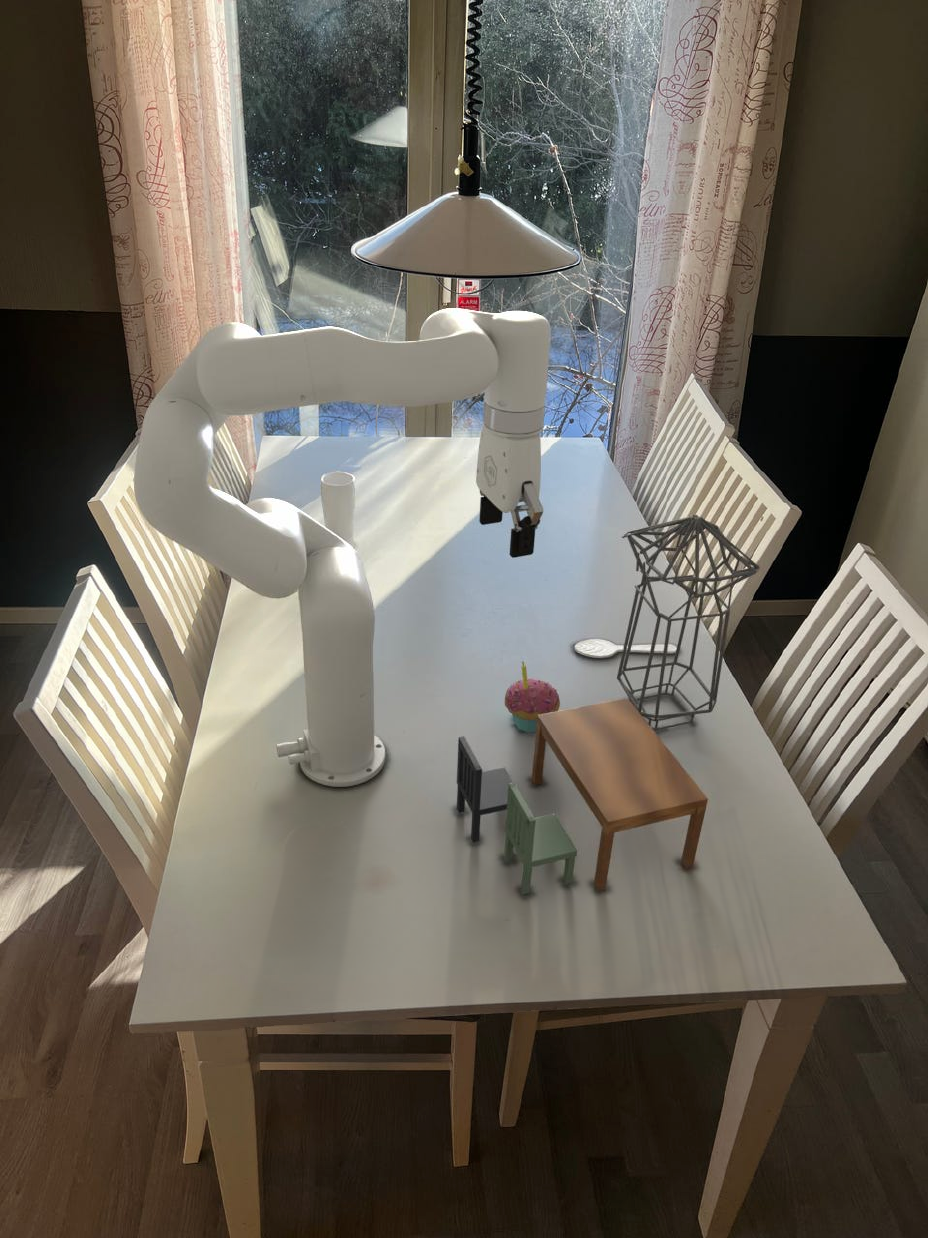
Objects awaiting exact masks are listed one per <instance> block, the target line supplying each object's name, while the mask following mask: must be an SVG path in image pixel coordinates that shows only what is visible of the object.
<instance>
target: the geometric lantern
mask: <svg viewBox="0 0 928 1238" xmlns="http://www.w3.org/2000/svg"><path fill="white" fill-rule="evenodd" d="M671 526H672V527H671ZM667 527H671V528H669V529H667V530H665V531H654V530H657V529H662V528H667ZM705 530H706V531H707V532H708V533H709V534H710V535H711V536H712V537H713V538H714V539H716V540H717V541H718V545H719V549H720V553H721V557H722V561H721V562H719V563H718V564H717V565H716V563H715V560H714V557H713V554H712V551H711V549H710V545H709V542H708V539H707V537H706V534H705ZM633 536H634V537H633ZM646 536H660V537H658V538H657V539H656V540H655V541H653V540H651V539H649V538H647V537H646ZM635 537H636V538H638V539H640V540H642V541H643V542H645V543H647V544H648V545H647V546H645V547H643V545H641V544H640V543H639V542H638V541H637V540H636V539H635ZM700 537H701V539H702V544H703V546H704V548H705V552H706V554H707V558H708V560H709V563H710V567H711V569H712V570H710V572H709V573H708V574H707V575H705V576H704V577H700ZM621 538H622V539H625V538H627V540H628V542H629V546H630V548H631V550H632V552H633V555H634V557H635V559H636V566H635V571H636V572H640V573H641V574H642V576H641V580H640V581H641V582H640V583H638V584H635V585H634V588H635V593H634V598H633V602H632V606H631V611H630V615H629V620H628V625H627V629H626V634H625V638H624V643H623V645H624V648H623V652H621V657H620V661H619V665H618V671H617V675H616V680H617V681H618V682H619V684H620V686H621V687H622V689H623V691H624V692H625V694H626V696H627V698H628V699H629V701H630V702H631V703H632V704H633V706H634V707H635V708H636V709H637V711H638V712H639V713H640V714H641V716H642V717H643V718H644V719H647V720H648V722H647V723H648V724H649V726H650V727H651V728H652V729H653V731H659V730H664V729H669V728H674V727H679V726H683V725H689V724H692V723H694V718H695V715H700V714H701V715H702V714H708V713H712V712H713V711H714V708H715V707H716V704H717V700H718V694H719V693H718V692H719V686H720V680H721V674H722V673H721V672H722V667H723V659H724V653H725V646H726V640H727V634H728V627H729V620H730V614H731V601H732V593H733V586H734V585H736V584H738V583H740V582H742V581H744V580H746V579H748V578H750V577H752V576H754V575H756V574H757V573H758V572H759V570H761V566H760V565H759V564H757V563H756V562H755V561H754V560H752V558H750V557H749V556H748V555H747V554H746V553H744V551H742V550H741V549H740V548H738V547H737V546H736V545H735V544H734V543H733V542H731V540H729V539H728V538H727V537H726V536H725V533H724V532H722V530H721V529H720V527H719V525H717V524H715V523H713V522H710V521H709V520H706V519H705V518H704V517H703V516H699V515H698V514H693V515H692V516H687V517H682V518H679V519H674V520H670V521H666V522H662V523H658V524H653V525H650V526H644V527H641V528H637V529H631V530H628V531H626V532H625V533H624V534H623V535H622V536H621ZM667 538H669V539H667ZM676 538H677V541H676V545H675V547H668V546H669V545H670V544H671V543H672V542H673V541H674V540H675V539H676ZM666 539H667V540H666ZM665 540H666V541H665ZM664 541H665V542H664ZM693 541H695V542H694V546H695V547H694V566H693V564H692V562H691V561H690V559H689V558H688V556H687V552H688V549H689V546H690V544H691V543H692V542H693ZM663 542H664V543H663ZM654 547H655V548H657V549H656V551H655V552H654V553H652V554H651V555H650V556H649V554H648V553H647V552H648V551H649V550H650V549H652V548H654ZM725 549H726V550H727V551H728V554H726V550H725ZM638 550H639V552H638ZM662 551H663V552H674V554H673V556H672V557H671V560H670V561H669V563H668V565H667V566H666V569H665V571H664V572H663V573H662V572H661V571H660V570H659V569H658V567H656V566H654V564H655V563H656V560H657V559H658V556H659V555H660V553H662ZM681 553H682V556H681V559H680V562H679V564H678V567H677V569H676V572H675V574H674V576H670V577H669V573H670V571H671V570H672V568H673V566H674V564H675V563H676V561H677V559H678V558H679V556H680V554H681ZM640 555H642V556H643V558H644V559H645V561H642V560H641V557H640ZM731 556H733V558H734V559H735V560H736V563H735V566H734V569H733V567H732V566H731V564H730V563H729V561H730V559H731ZM684 559H685V560H686V561H687V563H688V565H689V566H690V568H691V570H692V571H693V574H694V575H693V574H688V575H679V576H678V574H679V572H680V570H681V567H682V565H683V562H684ZM740 563H742V564H743V565H744V566H745V568H741V569H738V567H739V565H740ZM646 565H647V567H648V568H647V570H646ZM723 565H724V566H725V567H726V568H727V570H728V572H730V574H729V575H723V576H720V575H719V573H718V572H719V571H718V570H719V569H720V568H721V567H723ZM651 571H653V572H654V573H655V574H656V575H650V572H651ZM712 575H713V576H714V577H711V576H712ZM671 580H672V581H671ZM727 580H730V582H728V583H726V584H724V585H721V586H720V587H718V588H717V586H718V582H721V581H727ZM652 582H664V583H667V584H670V585H672V586H673V585H677V586H678V587H680V588H681V589H683V590H685V591H686V592H688V597H687V600H686V601H685V602H684V603H683V604H682V605H681V606H679V607H678V608H677V609H676V610H675V611H674V612H673V613H671V614H670V615H668V616H667V615H666V614H664V613H661V612H660V610H659V606H658V604H657V601H656V597H655V593H654V591H653V588H652V585H651V583H652ZM687 582H691V585H690V587H688V586H687V585H686V584H685V583H687ZM699 583H702V584H701V591H700V592H699V591H698V590H699ZM709 583H713V588H712V587H711V586H710V584H709ZM641 587H642V588H641ZM706 587H707V588H708V590H709V591H706ZM728 588H729V594H728V603H726V602H725V601H724V600H723V599H722V598H721V596H719V593H720V592H722V591H724V590H727V589H728ZM647 589H648V593H649V595H650V598H651V602H652V604H651V602H650V601H649V600H648V598H647V597H646V596H645V593H646V590H647ZM698 592H699V593H698ZM708 596H713V598H714V600H715V603H716V607H717V610H718V613H711V614H710V613H709V614H702V612H703V605H704V598H705V597H708ZM694 598H695V599H697V598H699V602H698V609H697V615H694V616H693V615H692V616H689V612H690V607H691V604H692V600H693V599H694ZM644 601H645V603H646V604H647V605H648V607H649V608H650V610H651V611H652V612H653V614H654V615H655V616H656V621H655V626H654V631H653V635H652V641H651V644H652V645H651V644H650V645H651V650H650V653H649V656H648V660H647V664H645V665H637V666H630V667H627V666H628V662H629V658H630V654H631V652H630V650H631V646H632V645H633V642H634V638H635V634H636V630H637V625H638V621H639V618H640V614H641V610H642V606H643V602H644ZM637 603H638V604H637ZM721 604H722V605H723V606H724V608H725V609H724V610H723V608H722V605H721ZM684 607H685V611H684V615H683V617H674V616H675V615H676V614H677V613H679V612H680V611H681V610H682V609H683V608H684ZM724 616H725V617H724ZM714 617H719V618H718V620H719V621H718V625H717V626H718V627H717V636H716V642H715V643H716V644H715V651H714V658H713V659H714V660H713V667H712V676H711V683H710V684H711V685H710V689H708V687H707V686H706V684H705V683H704V682H703V681H702V679H701V678H700V676H699V675H698V673H696V671H695V670H694V668H693V667H694V661H695V655H696V648H697V641H698V637H699V629H700V623H701V619H706V618H714ZM661 619H664V620H665V621H667V624H666V630H665V631H666V632H665V639H664V643H663V644H664V652H663V653H662V660H661V662H660V663H653V664H652V662H653V657H654V654H655V653H654V649H655V644H657V638H658V634H659V629H660V624H661ZM687 620H696V622H695V628H694V633H693V636H694V637H693V640H692V641H693V642H692V648H691V653H690V660H689V665H687V664H684V663H681V662H679V661H678V658H679V654H680V651H681V646H682V642H683V639H684V638H683V637H684V633H685V629H686V625H687ZM676 621H682V624H681V628H680V632H679V637H678V641H677V646H676V648H677V649H676V653H674V657H673V661H670V662H667V656H668V653H667V649H668V644H669V643H670V642H669V641H670V634H671V627H672V622H676ZM723 623H724V624H723ZM722 630H723V631H722ZM627 645H628V648H627ZM626 650H627V652H626ZM669 666H671V667H670V672H669V677H668V681H667V682H664V677H665V670H666V667H669ZM675 666H678V667H681V668H683V669H685V670H684V672H683V673H682V674H681V675H680V676H679V677H678V679H677V680H676V681H675V682H674V684H673V683H671V682H672V677H673V673H674V669H675V668H674V667H675ZM653 668H660V674H659V681H658V684H655V685H649V686H647V685H648V681H649V677H650V671H651V669H653ZM637 670H645V675H644V677H643V682H642V683H643V684H642V687H640V688H636V689H633V687H632V685H631V682H630V680H629V678H628V676H627V674H626V672H629V671H631V672H632V671H637ZM689 671H690V673H691V674H692V675H693V677H694V679H696V681H697V682H698V683H699V685H700V686H701V688H703V691H704V692H705V693H706V694H707V696H708V697H709V699H708V701H707V702H705V703H702V704H700V705H699V706H697V707H695V706H694V705H693V704H692V702H691V701H690V700H689V699H688V698H687V696H685V694H684V693H682V691H681V690H680V689H679V688H678V687H677V685H678V684H679V682H681V680H682V679H683V678H684V677H685V675H686V674H688V672H689ZM622 676H623V677H624V680H625V682H626V684H627V685H626V684H625V682H624V681H623V679H622ZM669 686H670V687H672V689H671V692H668V690H669ZM663 687H665V690H664V691H663ZM656 688H658V689H657V693H655V694H650V695H646V690H651V689H656ZM662 691H663V692H662ZM675 691H676V692H677V693H678V694H679V695H680V696H681V697H682V698H683V699H684V700H685V702H686V703H687V704H688V705H689V706H690V708H692V709H693V710H688V708H686V706H685V705H684V704H683V703H682V702H681V701H680V699H678V697H677V696H676V695H675ZM636 692H637V693H638V692H641V693H640V697H636V696H635V695H634V694H635V693H636ZM662 696H670V697H673V699H674V700H675V701H676V703H678V705H680V707H681V708H682V709H683V710H684V711H680V712H671V713H670V712H669V713H662V714H659V713H660V705H661V700H662V699H661V697H662ZM651 698H656V703H655V711H654V712H655V713H654V714H653V713H650V712H647V711H646V709H645V708H644V706H643V704H644V701H645V699H651ZM707 705H708V708H706V709H702V708H704V707H705V706H707ZM687 716H689V717H690V720H688V721H687V720H686V721H682V722H677V723H671V724H669V725H668V724H667V725H664V726H663V725H662V726H659V722H660V721H666V720H670V719H675V718H680V717H681V718H682V717H687ZM652 722H655V724H654V727H652V726H651V725H652ZM658 726H659V727H658Z"/></svg>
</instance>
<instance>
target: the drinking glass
mask: <svg viewBox="0 0 928 1238" xmlns="http://www.w3.org/2000/svg"><path fill="white" fill-rule="evenodd" d="M355 480H356V478H355V476H354V475H353V474H351V473H349V472H345V471H331V472H328V473H324V474H323V475H322V476H321V477H320V499H321V508H322V512H323V513H322V514H323V522H324V527H325V528H327V529H328V530H330V531H331V532H333V533H334V534H335V535H337V536H338V537H340V538H341V539H343V540H344V541H345V542H347V543H348V544H349V545H350V546H351V547H352V548H353V546H354V525H355V512H356V511H355V510H356V482H355Z"/></svg>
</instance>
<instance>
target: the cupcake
mask: <svg viewBox="0 0 928 1238" xmlns="http://www.w3.org/2000/svg"><path fill="white" fill-rule="evenodd" d="M521 664H522V665H521V673H522V674H521V675H522V679H519V680H518V681H516V682H513V683H512V684H511V685H510V687H508V688H507V690H506V692H505V695H504V707H506V708H507V710H508V712H509V713H510V714H511V715H512V719H513V722H514V725H515V726H516V728H517V729H519V730H520V731H523V732H524V733H525V732H526V733H536V727H537V716H538V715H541V714H546V713H551V712H557V711H559V710H560V707H561V699H560V696H559V694H558V691H557V689H556V688H555V687H553V686H552V685H551V684H550V683H549V682H546V681H543V680H540V679H535V678H528V674H527V673H528V672H527V665H526V664H525V662H524V661H523V660H522V661H521Z"/></svg>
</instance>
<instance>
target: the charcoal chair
mask: <svg viewBox="0 0 928 1238" xmlns="http://www.w3.org/2000/svg"><path fill="white" fill-rule="evenodd" d="M457 742H458V744H457V766H456V784H457V791H456V792H457V793H456V811H457V812H458V813H459V814H460V813H464V812H465V810H466V809H465V808H466V804H467V806H468V808H469V810H470V812H471V829H470V840H471V841H472V843H476V842H480V833H481V816H484V815H488V814H492V813H493V814H494V813H497V812H502V811H507V799H508V787H509V784H511V783H514V781H513V779H512V778H511V775H510V774H509V772H508V771H507V769H506V767H499V768H495V769H489V770H484V771H483V767H482V766H481V764H480V763H479V761H478V759H477V757H476V756H475V753H474V752H473V750H472V748H471V747H470V745H469V743H468V741H467V738H466V737H465V735H463V736H462V735H461V736H458V741H457Z"/></svg>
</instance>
